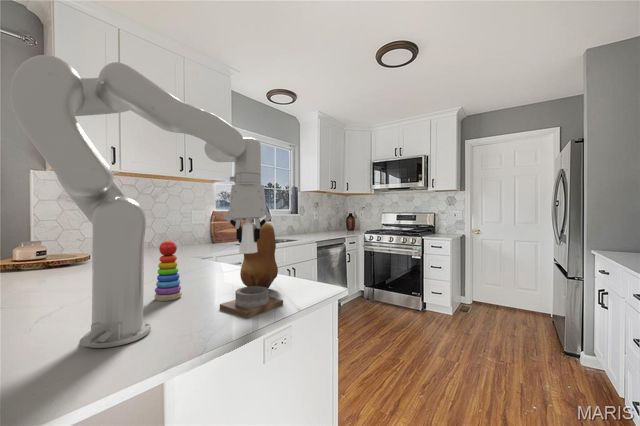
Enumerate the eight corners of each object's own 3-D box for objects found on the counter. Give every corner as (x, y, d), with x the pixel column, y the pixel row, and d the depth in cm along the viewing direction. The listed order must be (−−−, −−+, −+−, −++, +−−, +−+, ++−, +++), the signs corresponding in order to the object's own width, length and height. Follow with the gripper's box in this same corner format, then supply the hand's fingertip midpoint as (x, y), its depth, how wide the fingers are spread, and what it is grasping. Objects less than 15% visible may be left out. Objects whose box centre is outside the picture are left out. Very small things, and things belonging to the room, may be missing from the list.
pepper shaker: (250, 250, 89) (249, 215, 89) (261, 252, 86) (261, 215, 86) (235, 252, 85) (235, 215, 85) (246, 254, 82) (246, 215, 82)
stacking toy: (186, 295, 97) (187, 240, 97) (172, 302, 89) (172, 242, 89) (164, 294, 98) (165, 239, 98) (148, 301, 90) (149, 241, 90)
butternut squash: (239, 287, 108) (240, 221, 108) (275, 285, 112) (275, 221, 112) (240, 298, 94) (241, 222, 94) (281, 294, 98) (281, 222, 98)
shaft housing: (247, 318, 76) (247, 299, 76) (219, 309, 83) (219, 292, 83) (282, 304, 88) (283, 288, 88) (256, 297, 95) (256, 282, 95)
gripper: (216, 179, 80) (216, 244, 80) (276, 179, 83) (276, 242, 83) (221, 181, 88) (221, 241, 88) (276, 182, 90) (276, 240, 90)
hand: (248, 241), depth 85 cm, fingers closed on pepper shaker, 4 cm apart
